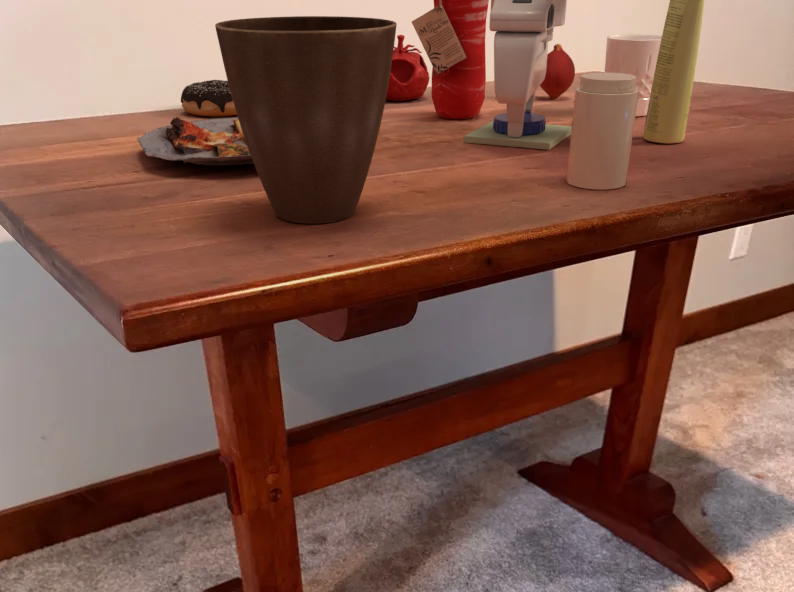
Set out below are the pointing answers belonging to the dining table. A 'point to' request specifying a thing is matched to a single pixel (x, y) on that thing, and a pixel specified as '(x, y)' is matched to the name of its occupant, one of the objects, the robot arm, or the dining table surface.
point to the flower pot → (309, 106)
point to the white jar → (602, 130)
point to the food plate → (199, 142)
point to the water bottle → (456, 55)
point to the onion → (558, 72)
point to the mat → (535, 141)
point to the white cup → (634, 62)
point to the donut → (208, 99)
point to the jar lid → (531, 123)
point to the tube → (674, 73)
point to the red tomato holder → (407, 74)
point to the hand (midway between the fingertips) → (519, 130)
